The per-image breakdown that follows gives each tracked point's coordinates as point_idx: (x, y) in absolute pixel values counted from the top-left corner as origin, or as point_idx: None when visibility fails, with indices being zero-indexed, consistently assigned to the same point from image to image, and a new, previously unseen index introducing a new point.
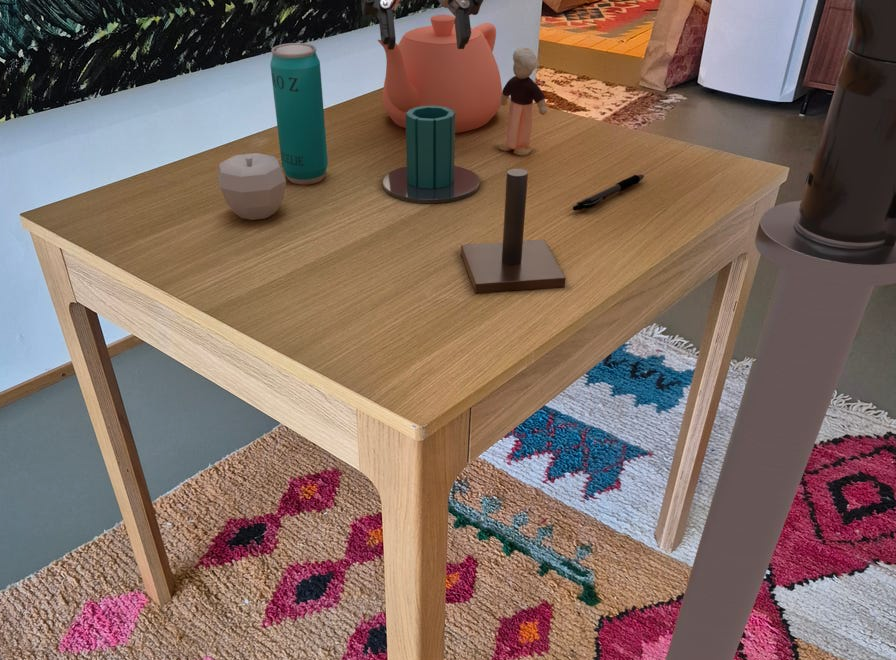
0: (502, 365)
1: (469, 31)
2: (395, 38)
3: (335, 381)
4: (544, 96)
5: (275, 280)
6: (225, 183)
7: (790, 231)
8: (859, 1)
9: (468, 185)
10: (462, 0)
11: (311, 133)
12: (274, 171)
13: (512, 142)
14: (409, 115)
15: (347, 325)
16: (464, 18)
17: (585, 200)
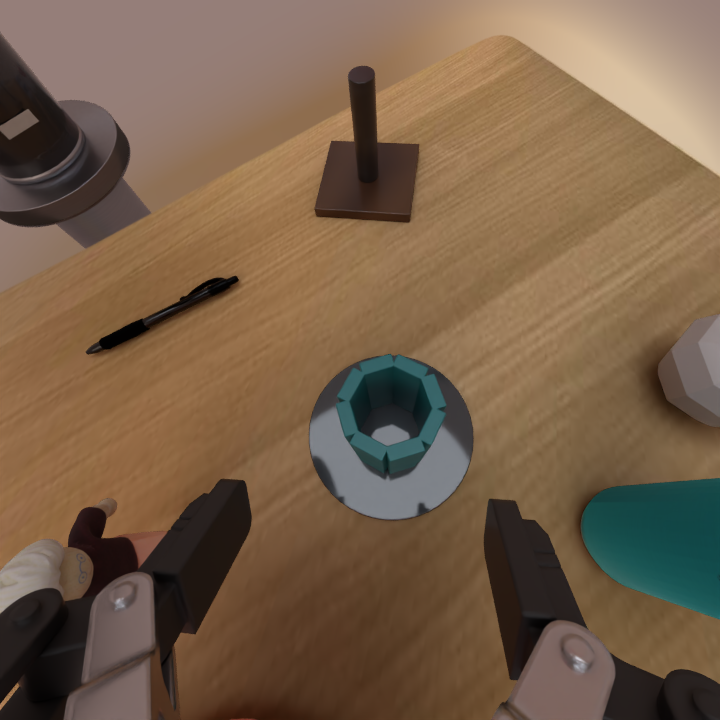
0: (428, 70)
1: (192, 507)
2: (491, 500)
3: (560, 69)
4: (81, 510)
5: (630, 207)
6: None
7: (85, 156)
8: None
9: (337, 393)
10: (121, 612)
11: (657, 484)
12: (704, 330)
13: None
14: (440, 400)
15: (548, 127)
16: (179, 535)
17: (215, 283)
